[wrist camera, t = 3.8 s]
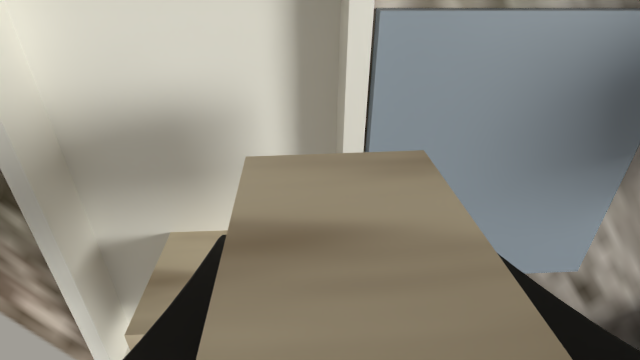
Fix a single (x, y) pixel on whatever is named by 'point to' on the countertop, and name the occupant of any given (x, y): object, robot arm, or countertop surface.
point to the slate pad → (514, 116)
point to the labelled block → (363, 268)
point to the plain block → (169, 278)
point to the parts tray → (162, 125)
